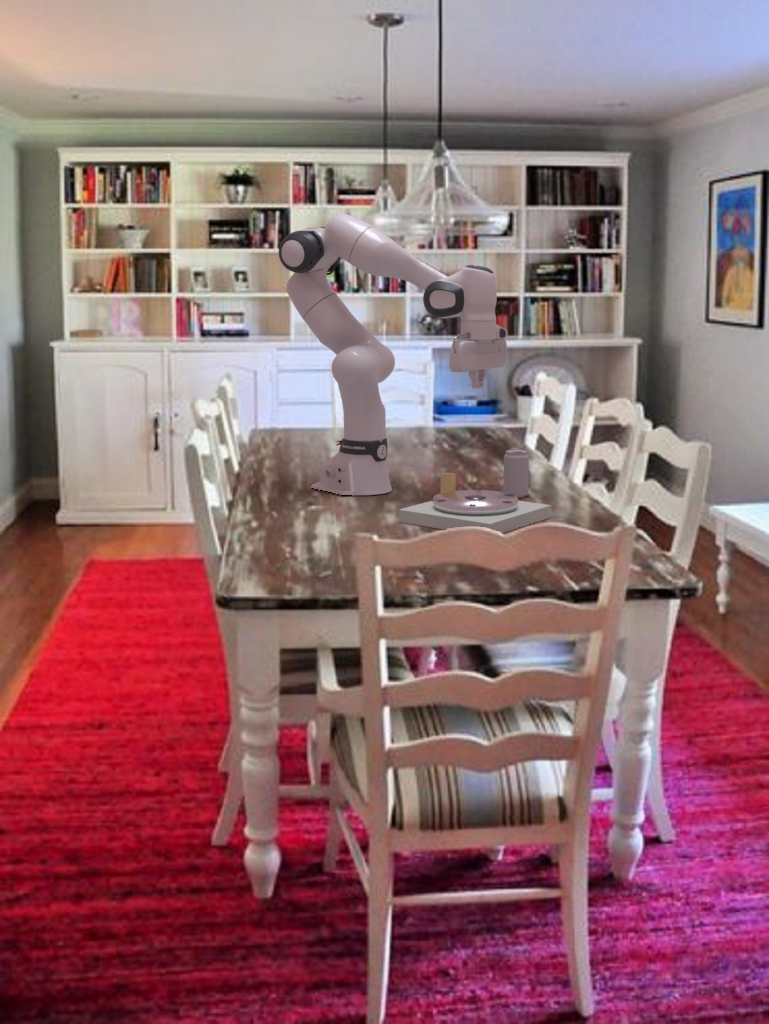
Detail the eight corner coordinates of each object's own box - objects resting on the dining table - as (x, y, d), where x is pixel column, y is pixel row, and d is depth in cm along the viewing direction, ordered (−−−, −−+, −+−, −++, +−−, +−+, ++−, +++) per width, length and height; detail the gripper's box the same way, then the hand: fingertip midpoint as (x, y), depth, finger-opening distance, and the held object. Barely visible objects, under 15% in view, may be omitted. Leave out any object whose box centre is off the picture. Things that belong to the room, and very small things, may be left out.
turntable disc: (454, 517, 274) (455, 487, 273) (420, 501, 292) (420, 473, 291) (533, 510, 281) (533, 481, 280) (494, 495, 299) (494, 467, 298)
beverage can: (508, 499, 311) (509, 453, 309) (499, 494, 317) (500, 449, 315) (531, 497, 313) (532, 452, 310) (522, 493, 319) (523, 448, 317)
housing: (398, 522, 286) (398, 508, 285) (462, 504, 305) (462, 491, 305) (490, 537, 270) (490, 522, 269) (551, 517, 289) (551, 504, 289)
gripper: (464, 334, 290) (464, 392, 293) (511, 330, 305) (510, 385, 308) (443, 333, 294) (442, 390, 296) (490, 329, 309) (489, 383, 312)
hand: (477, 388), depth 302 cm, fingers closed
